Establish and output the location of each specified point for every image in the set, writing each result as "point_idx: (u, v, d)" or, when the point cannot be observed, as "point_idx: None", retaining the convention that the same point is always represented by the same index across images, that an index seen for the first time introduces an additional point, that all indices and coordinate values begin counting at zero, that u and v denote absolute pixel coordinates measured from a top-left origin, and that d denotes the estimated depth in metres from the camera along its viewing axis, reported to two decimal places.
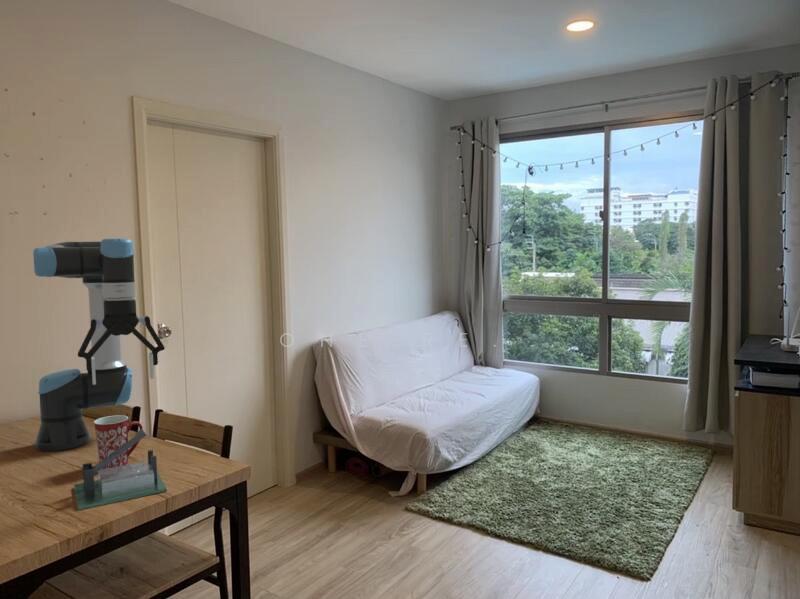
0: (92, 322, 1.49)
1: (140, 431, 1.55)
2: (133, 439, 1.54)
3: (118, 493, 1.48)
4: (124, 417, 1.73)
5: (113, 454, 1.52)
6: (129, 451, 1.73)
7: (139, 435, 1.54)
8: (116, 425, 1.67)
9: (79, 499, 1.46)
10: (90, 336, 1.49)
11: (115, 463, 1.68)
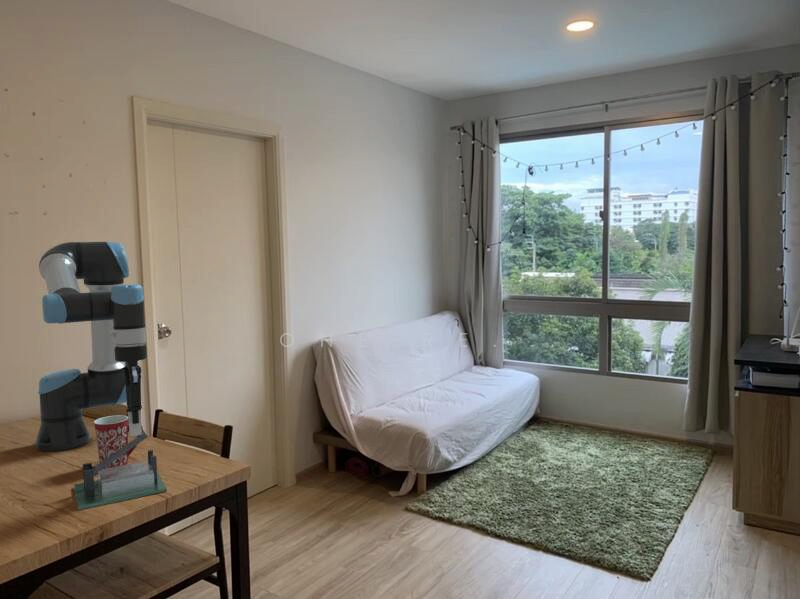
0: None
1: (142, 433, 1.55)
2: (134, 440, 1.54)
3: (118, 493, 1.48)
4: (124, 417, 1.73)
5: (114, 455, 1.52)
6: (129, 451, 1.73)
7: (140, 437, 1.54)
8: (116, 425, 1.67)
9: (79, 499, 1.46)
10: (125, 384, 1.56)
11: (115, 463, 1.68)
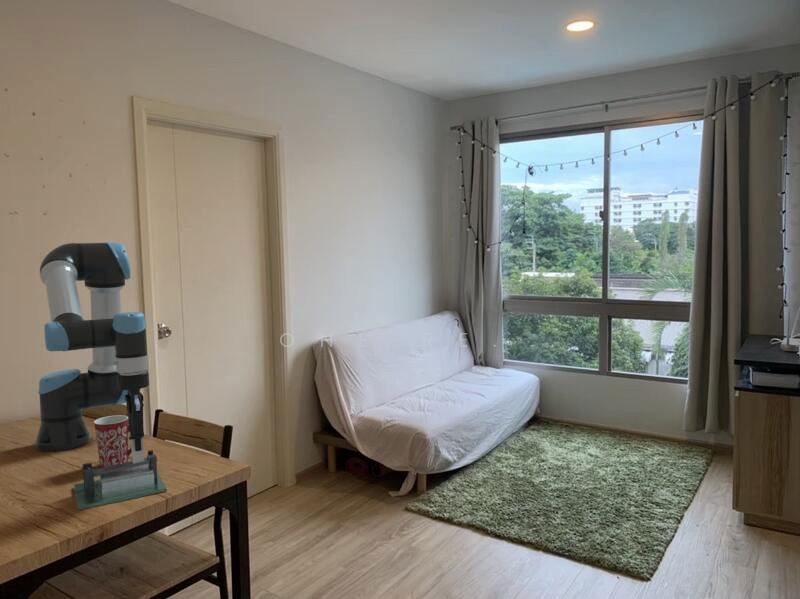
0: None
1: (153, 455, 1.57)
2: None
3: (118, 493, 1.48)
4: (124, 417, 1.73)
5: (120, 466, 1.53)
6: (129, 451, 1.73)
7: None
8: (116, 425, 1.67)
9: (79, 499, 1.46)
10: (128, 411, 1.57)
11: (115, 463, 1.68)
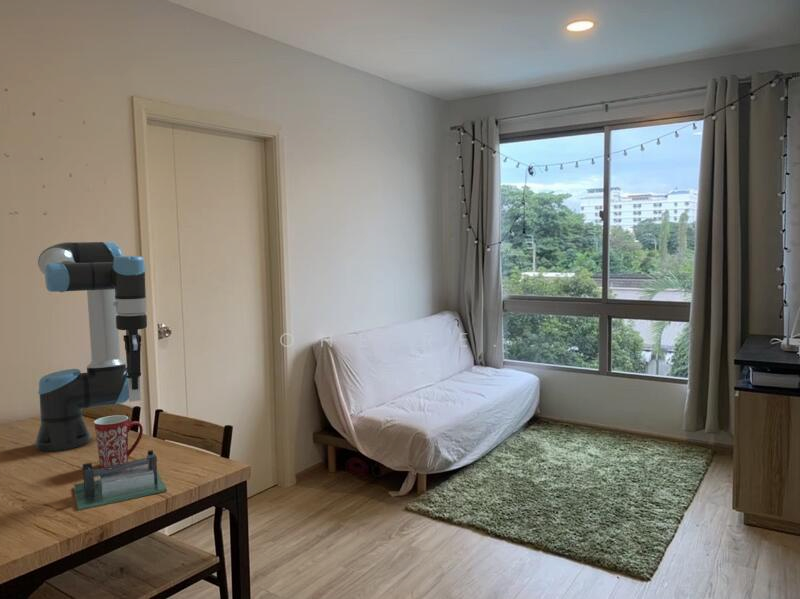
0: None
1: (153, 455, 1.57)
2: (143, 460, 1.56)
3: (118, 493, 1.48)
4: (124, 417, 1.73)
5: (120, 466, 1.53)
6: (129, 451, 1.73)
7: None
8: (116, 425, 1.67)
9: (79, 499, 1.46)
10: (126, 351, 1.62)
11: (115, 463, 1.68)
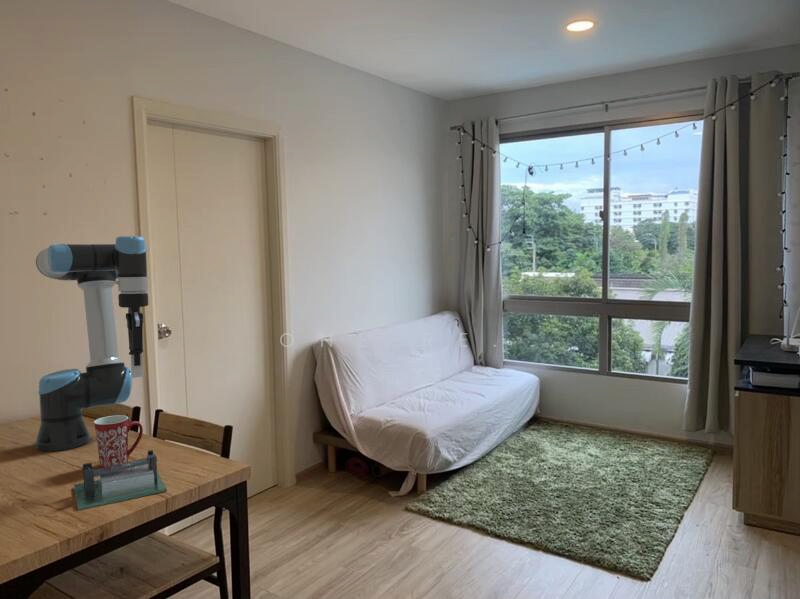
0: None
1: (153, 455, 1.57)
2: (143, 460, 1.56)
3: (118, 493, 1.48)
4: (124, 417, 1.73)
5: (120, 466, 1.53)
6: (129, 451, 1.73)
7: None
8: (116, 425, 1.67)
9: (79, 499, 1.46)
10: (128, 330, 1.68)
11: (115, 463, 1.68)
